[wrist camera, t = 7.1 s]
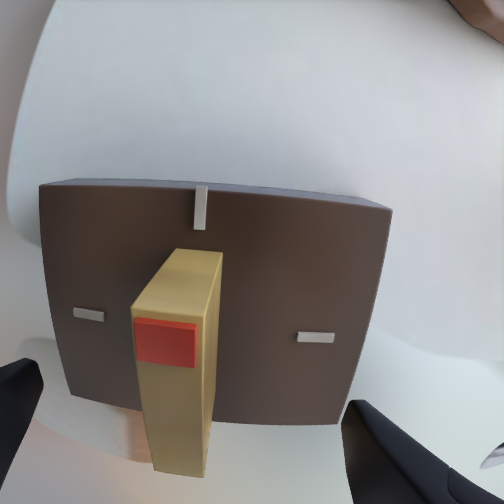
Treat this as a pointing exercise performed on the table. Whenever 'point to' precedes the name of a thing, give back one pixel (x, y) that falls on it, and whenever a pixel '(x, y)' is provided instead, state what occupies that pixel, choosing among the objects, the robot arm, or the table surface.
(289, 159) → the table surface
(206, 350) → the golden tan block
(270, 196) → the panel
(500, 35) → the plant
